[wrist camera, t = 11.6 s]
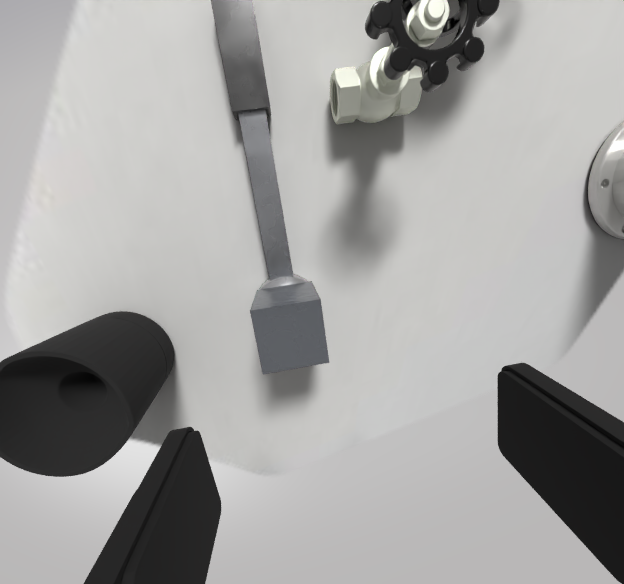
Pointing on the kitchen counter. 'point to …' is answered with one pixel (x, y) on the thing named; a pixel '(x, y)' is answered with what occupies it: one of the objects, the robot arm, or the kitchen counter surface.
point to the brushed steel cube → (289, 327)
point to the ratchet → (254, 128)
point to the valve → (407, 57)
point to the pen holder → (81, 393)
